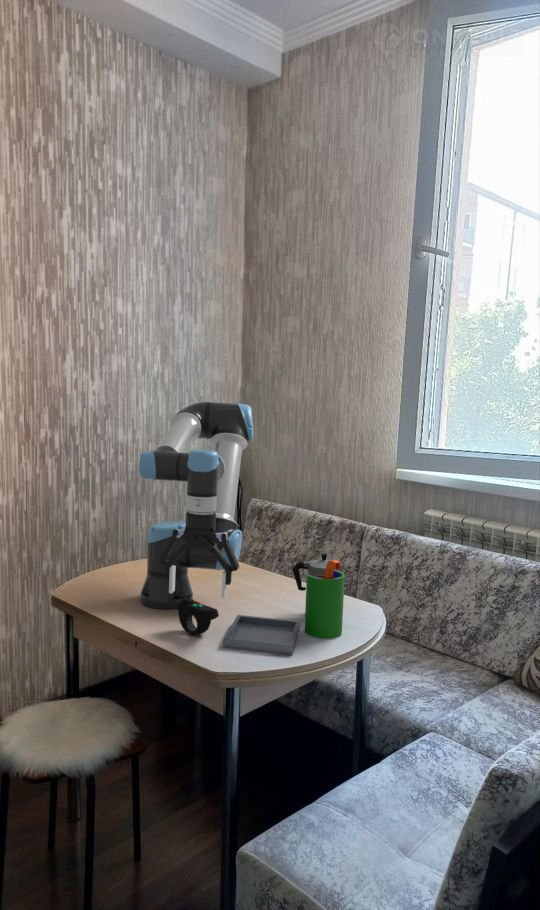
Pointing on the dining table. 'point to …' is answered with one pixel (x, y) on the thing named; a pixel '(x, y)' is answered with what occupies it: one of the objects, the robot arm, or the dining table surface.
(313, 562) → the coffeepot
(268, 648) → the tray
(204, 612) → the controller
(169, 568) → the robot arm
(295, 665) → the dining table surface
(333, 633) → the green cylindrical container
